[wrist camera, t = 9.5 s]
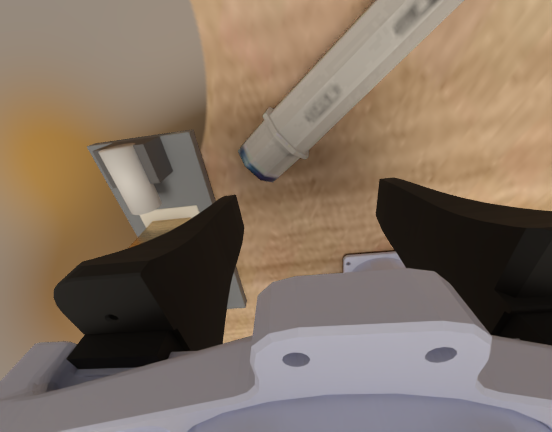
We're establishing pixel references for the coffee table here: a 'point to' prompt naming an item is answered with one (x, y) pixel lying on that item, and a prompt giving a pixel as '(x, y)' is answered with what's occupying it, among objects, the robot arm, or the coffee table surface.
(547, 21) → the coffee table surface
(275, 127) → the grey long handheld tool
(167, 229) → the block
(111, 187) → the coupling bed
